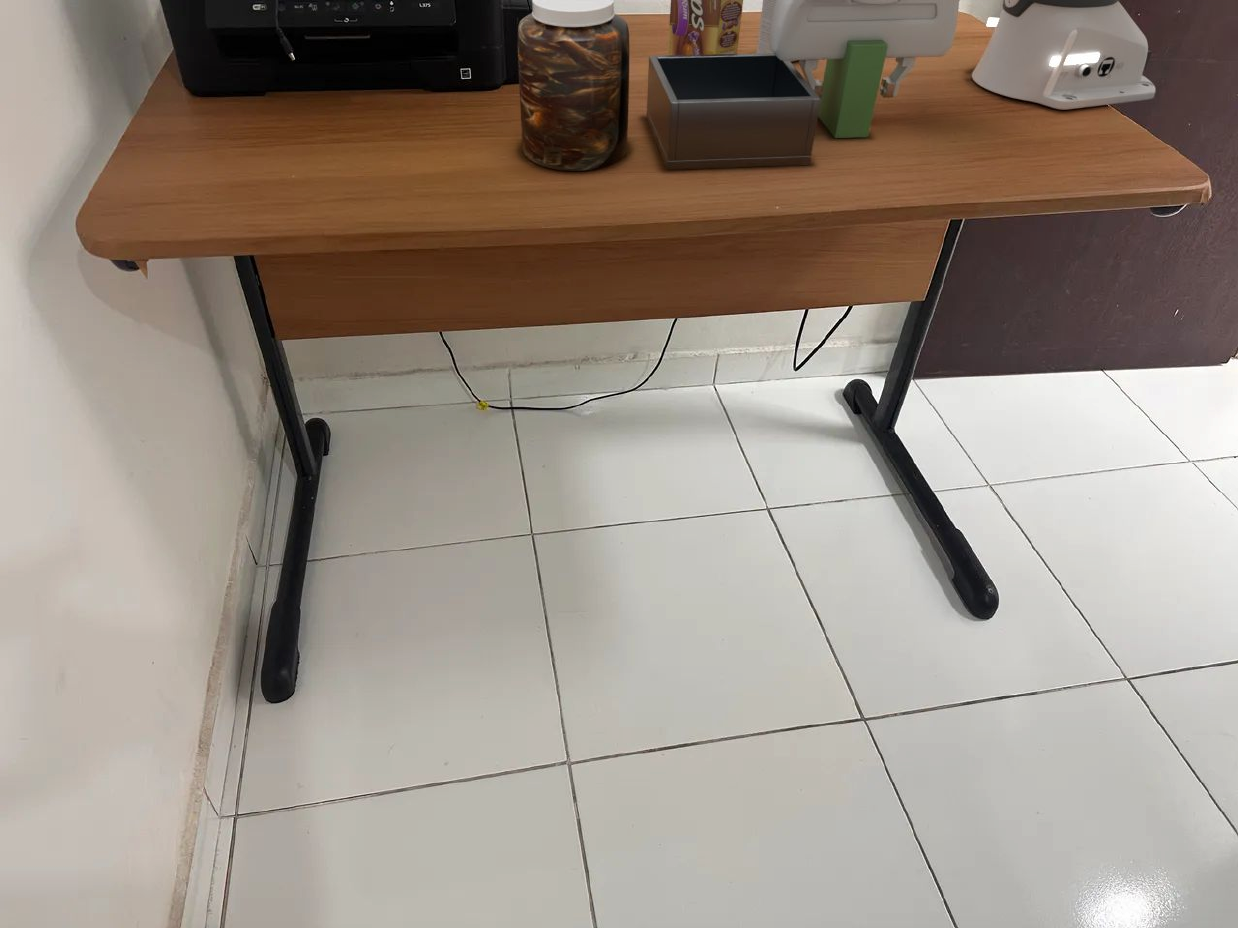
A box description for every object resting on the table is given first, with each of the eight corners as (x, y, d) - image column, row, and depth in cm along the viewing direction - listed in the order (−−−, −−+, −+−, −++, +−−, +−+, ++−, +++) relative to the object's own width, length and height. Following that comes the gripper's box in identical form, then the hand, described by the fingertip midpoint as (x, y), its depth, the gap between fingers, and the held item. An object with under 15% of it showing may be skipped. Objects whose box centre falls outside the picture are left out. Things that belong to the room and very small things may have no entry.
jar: (646, 161, 93) (653, 9, 83) (545, 179, 89) (539, 22, 79) (601, 122, 101) (602, -21, 91) (506, 137, 97) (496, -11, 87)
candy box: (736, 88, 110) (750, -48, 100) (712, 95, 108) (724, -43, 98) (688, 69, 115) (698, -63, 105) (664, 75, 113) (671, -58, 103)
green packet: (849, 114, 104) (866, 25, 98) (868, 137, 99) (888, 44, 92) (816, 115, 104) (832, 25, 97) (834, 138, 99) (852, 45, 92)
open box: (774, 114, 104) (783, 52, 99) (809, 165, 93) (821, 98, 89) (646, 118, 102) (648, 55, 98) (667, 170, 92) (671, 103, 87)
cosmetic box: (786, 51, 122) (800, -47, 114) (808, 60, 119) (824, -40, 111) (753, 58, 119) (765, -41, 111) (775, 68, 116) (789, -34, 108)
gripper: (958, -48, 93) (925, 85, 103) (774, -45, 91) (758, 90, 101) (984, -33, 89) (947, 104, 98) (791, -30, 87) (772, 110, 96)
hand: (850, 97), depth 99 cm, fingers open, 8 cm apart
